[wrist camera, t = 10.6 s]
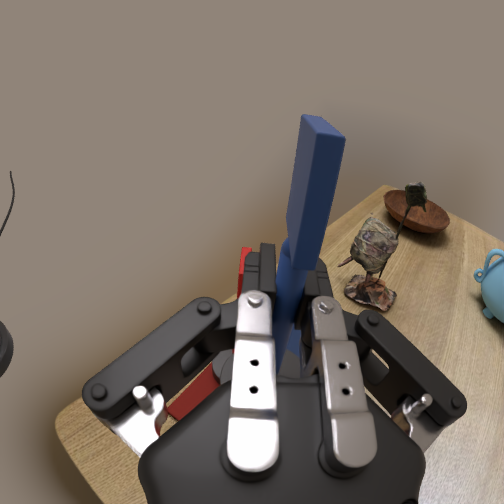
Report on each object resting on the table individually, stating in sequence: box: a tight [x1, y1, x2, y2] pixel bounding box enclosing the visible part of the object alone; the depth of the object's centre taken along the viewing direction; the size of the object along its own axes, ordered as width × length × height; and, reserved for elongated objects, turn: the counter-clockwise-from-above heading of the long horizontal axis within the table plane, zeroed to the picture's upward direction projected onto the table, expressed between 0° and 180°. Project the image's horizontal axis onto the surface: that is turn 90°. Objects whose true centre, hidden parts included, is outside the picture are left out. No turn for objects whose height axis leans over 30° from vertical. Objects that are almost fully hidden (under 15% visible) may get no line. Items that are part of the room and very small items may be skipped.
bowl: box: [384, 190, 450, 233], centre depth 67 cm, size 20×22×5 cm
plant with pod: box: [337, 182, 427, 311], centre depth 39 cm, size 8×11×20 cm
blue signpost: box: [220, 114, 346, 385], centre depth 13 cm, size 6×6×16 cm
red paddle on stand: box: [212, 247, 252, 385], centre depth 26 cm, size 6×6×16 cm
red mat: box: [167, 362, 220, 421], centre depth 28 cm, size 12×12×1 cm
